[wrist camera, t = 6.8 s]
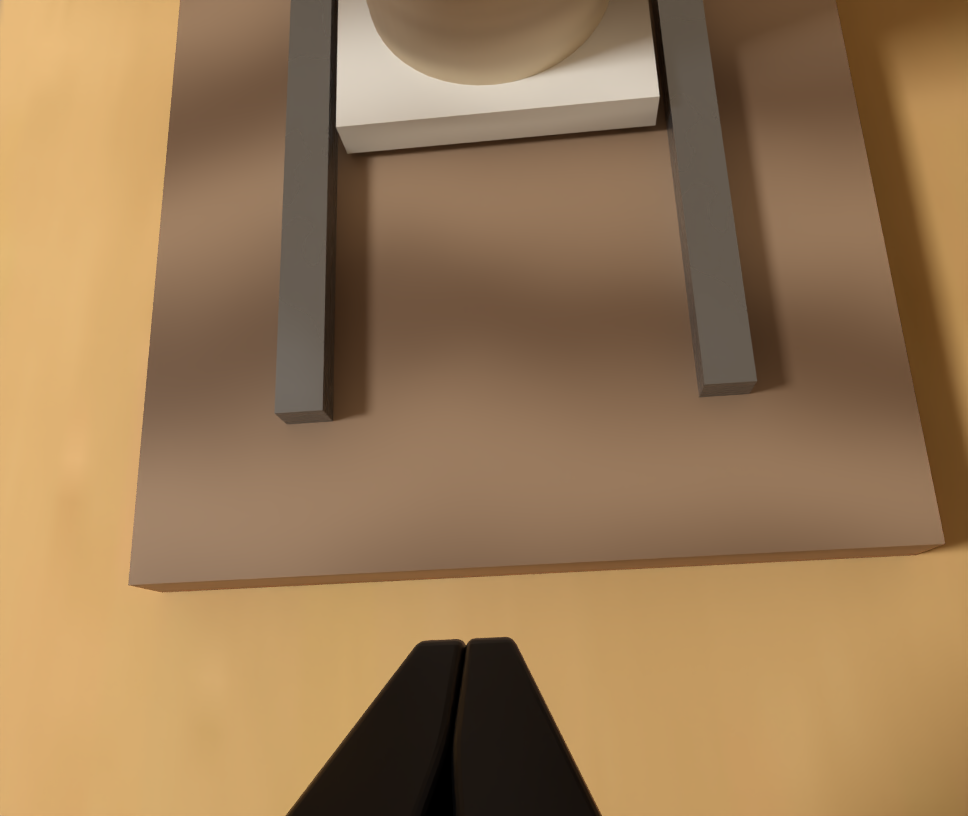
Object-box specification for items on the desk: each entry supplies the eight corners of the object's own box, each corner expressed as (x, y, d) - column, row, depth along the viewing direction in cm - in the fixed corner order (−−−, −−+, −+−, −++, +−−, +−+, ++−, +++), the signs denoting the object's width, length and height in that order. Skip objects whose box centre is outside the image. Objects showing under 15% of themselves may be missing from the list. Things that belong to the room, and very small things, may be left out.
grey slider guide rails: (809, 390, 17) (856, 333, 14) (232, 428, 18) (168, 381, 15) (712, -212, 22) (732, -342, 20) (263, -157, 23) (221, -273, 21)
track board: (915, 555, 18) (945, 543, 16) (162, 591, 19) (128, 584, 17) (766, -226, 24) (779, -282, 23) (219, -158, 26) (198, -207, 24)
